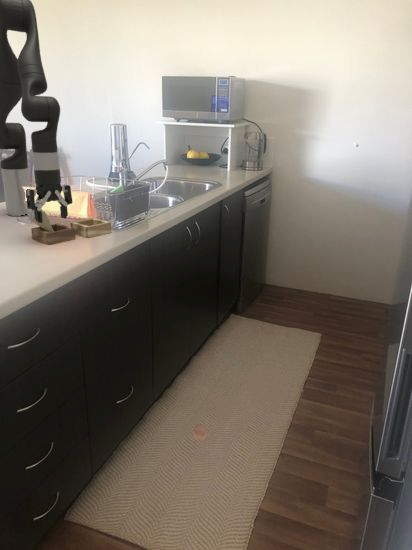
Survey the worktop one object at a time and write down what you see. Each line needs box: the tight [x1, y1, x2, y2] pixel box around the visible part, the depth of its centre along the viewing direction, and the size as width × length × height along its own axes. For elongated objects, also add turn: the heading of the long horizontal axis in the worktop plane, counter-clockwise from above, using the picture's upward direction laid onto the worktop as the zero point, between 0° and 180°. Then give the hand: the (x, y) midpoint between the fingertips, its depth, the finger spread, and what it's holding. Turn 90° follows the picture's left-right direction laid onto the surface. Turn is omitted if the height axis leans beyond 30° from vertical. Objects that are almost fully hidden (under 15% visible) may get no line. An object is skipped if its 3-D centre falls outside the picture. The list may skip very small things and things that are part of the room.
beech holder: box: [70, 217, 112, 239], centre depth 145 cm, size 9×9×4 cm
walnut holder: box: [30, 223, 76, 246], centre depth 137 cm, size 9×9×4 cm
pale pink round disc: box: [192, 424, 209, 442], centre depth 177 cm, size 6×6×3 cm
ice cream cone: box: [24, 200, 54, 232], centre depth 136 cm, size 5×5×15 cm
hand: (52, 220), depth 135 cm, fingers open, 8 cm apart
